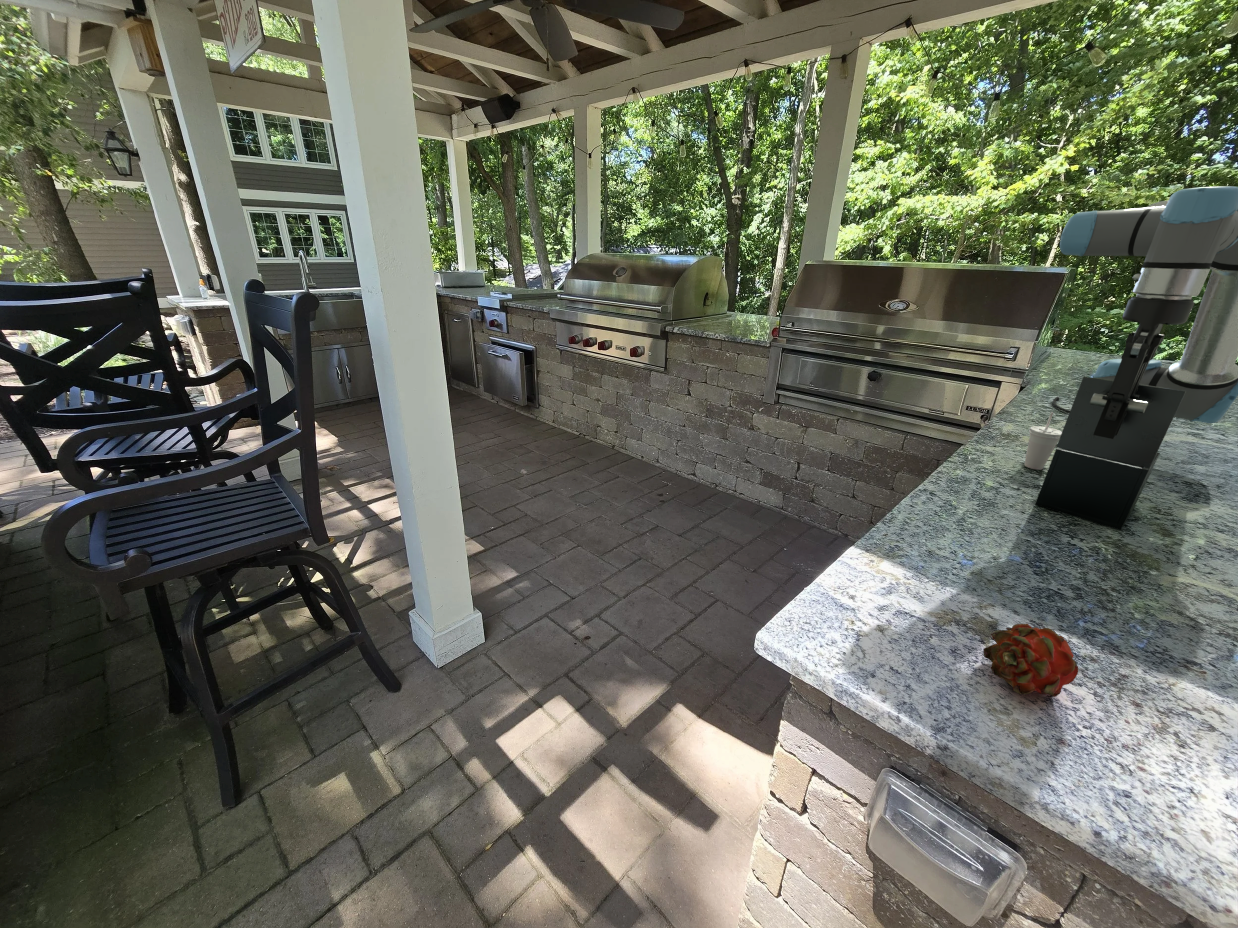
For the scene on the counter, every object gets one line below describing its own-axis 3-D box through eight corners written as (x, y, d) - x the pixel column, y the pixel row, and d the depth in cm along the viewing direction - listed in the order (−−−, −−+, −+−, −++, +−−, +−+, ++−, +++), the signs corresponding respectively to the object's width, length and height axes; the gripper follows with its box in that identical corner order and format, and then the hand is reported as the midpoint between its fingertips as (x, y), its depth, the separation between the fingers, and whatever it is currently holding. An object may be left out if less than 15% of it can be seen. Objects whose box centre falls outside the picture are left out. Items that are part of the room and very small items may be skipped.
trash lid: (1084, 376, 96) (1072, 382, 90) (1186, 390, 86) (1179, 398, 81) (1057, 446, 101) (1044, 456, 96) (1150, 467, 91) (1142, 479, 86)
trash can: (1052, 487, 114) (1072, 434, 109) (1133, 509, 104) (1160, 452, 99) (1034, 504, 106) (1055, 448, 101) (1120, 530, 96) (1148, 470, 91)
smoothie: (1045, 464, 126) (1065, 411, 120) (1053, 473, 121) (1074, 418, 115) (1014, 460, 129) (1032, 408, 123) (1021, 469, 123) (1040, 415, 118)
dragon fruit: (993, 713, 60) (1017, 674, 68) (1083, 718, 54) (1099, 675, 62) (964, 642, 62) (992, 612, 69) (1049, 639, 55) (1068, 607, 63)
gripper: (1138, 293, 87) (1087, 421, 96) (1121, 297, 78) (1067, 438, 88) (1201, 296, 82) (1141, 431, 91) (1190, 301, 73) (1125, 450, 82)
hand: (1105, 434), depth 89 cm, fingers closed on trash lid, 2 cm apart
